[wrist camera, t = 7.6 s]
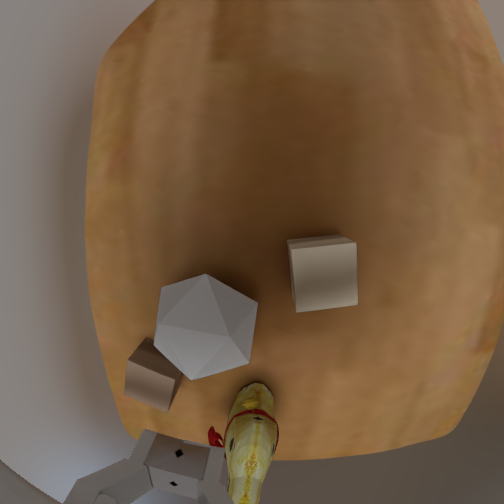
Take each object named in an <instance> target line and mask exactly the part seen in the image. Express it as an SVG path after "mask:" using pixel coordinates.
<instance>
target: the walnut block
mask: <svg viewBox="0 0 504 504" xmlns="http://www.w3.org/2000/svg"><path fill="white" fill-rule="evenodd" d="M182 376H183V373H182V372H181V371H180V370H179V369H178V368H177V367H176V366H175V365H174V364H173V363H172V362H171V361H169V360H168V359H167V358H166V357H165V356H164V355H163V354H162V353H161V352H160V351H159V350H158V349H157V348H156V347H155V346H154V341H153V340H151V339H149V338H145V339H144V341H143V342H142V343H141V344H140V345H139V347H138V348H137V349H136V350H135V351H134V353H133V354H132V355H131V356H130V357H129V359H128V360H127V368H126V378H125V389H124V394H125V395H127V396H129V397H131V398H133V399H136V400H138V401H140V402H142V403H145V404H147V405H150V406H152V407H154V408H157V409H159V410H162V411H164V412H167V413H168V411H169V408H170V406H171V404H172V402H173V400H174V398H175V395H176V393H177V391H178V389H179V387H180V383H181V379H182Z"/></svg>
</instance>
